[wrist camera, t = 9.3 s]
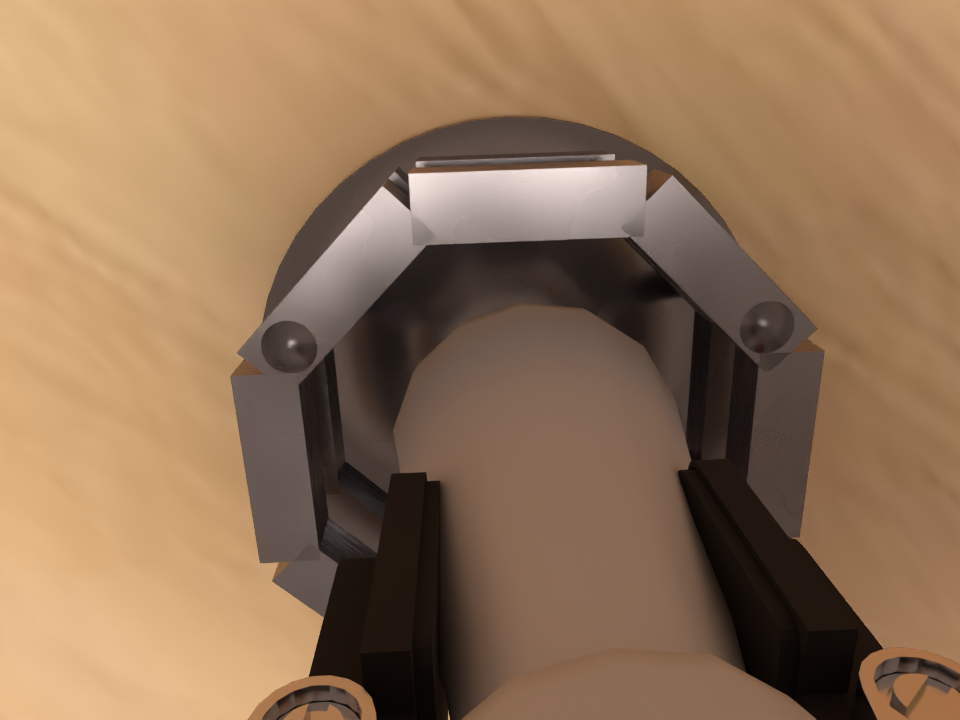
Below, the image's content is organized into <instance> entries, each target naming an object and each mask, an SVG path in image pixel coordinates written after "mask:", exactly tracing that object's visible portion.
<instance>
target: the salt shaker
mask: <svg viewBox="0 0 960 720" xmlns="http://www.w3.org/2000/svg"><path fill="white" fill-rule="evenodd" d="M393 433H394V439H395V444H396V450H397V456H398V462H399V467H400V473H415V472H426V474H427V481H440V670H441V675H442V680H443V685H444V690H445V695H446V700H447V705H448V710H449V715H450V720H816V718H814V717H813V716H812V715H811V714H810V713H808V712H807V711H806V710H805V709H804V708H802V707H801V706H800V705H799V704H798V703H796V702H795V701H794V700H793V699H792V698H790V697H789V696H787V695H786V694H784V693H782V692H780V691H778V690H776V689H775V688H773V687H771V686H769V685H767V684H765V683H764V682H762V681H760V680H758V679H756V678H755V677H753V676H751V675H749V674H747V673H746V669H745V665H744V661H743V657H742V653H741V650H740V646H739V642H738V638H737V634H736V630H735V627H734V623H733V619H732V616H731V613H730V611H729V608H728V606H727V603H726V601H725V598H724V596H723V593H722V591H721V588H720V586H719V583H718V581H717V578H716V576H715V573H714V571H713V568H712V566H711V563H710V561H709V558H708V556H707V553H706V551H705V548H704V546H703V543H702V541H701V538H700V535H699V533H698V530H697V528H696V525H695V523H694V520H693V517H692V514H691V511H690V508H689V505H688V502H687V499H686V496H685V493H684V490H683V487H682V484H681V481H680V478H679V475H678V471H679V470H688V466H689V463H690V462H691V458H690V454H689V450H688V447H687V443H686V439H685V435H684V431H683V427H682V424H681V420H680V416H679V412H678V408H677V404H676V401H675V398H674V396H673V394H672V393H671V391H670V389H669V388H668V386H667V384H666V382H665V381H664V379H663V377H662V376H661V374H660V372H659V371H658V369H657V367H656V366H655V364H654V362H653V361H652V359H651V357H650V356H649V354H648V352H647V351H646V349H645V347H644V346H643V345H641V344H639V343H638V342H636V341H635V340H633V339H632V338H630V337H628V336H627V335H625V334H624V333H622V332H621V331H619V330H617V329H616V328H614V327H613V326H611V325H610V324H608V323H606V322H605V321H603V320H602V319H600V318H599V317H597V316H595V315H594V314H592V313H591V312H589V311H587V310H586V309H584V308H575V307H565V306H555V305H545V304H535V303H526V302H520V303H517V304H514V305H511V306H508V307H505V308H502V309H499V310H496V311H493V312H490V313H487V314H485V315H482V316H479V317H476V318H473V319H470V320H467V321H464V322H461V323H460V324H459V325H458V326H457V327H456V328H455V329H454V330H453V331H452V332H451V333H450V334H449V335H448V336H447V337H446V338H445V339H444V340H443V341H442V342H441V343H440V344H439V345H438V346H437V347H435V348H434V349H433V350H432V351H431V352H430V353H429V354H428V355H427V356H426V357H425V358H424V359H423V360H422V361H421V362H420V363H419V364H418V365H417V367H416V368H415V370H414V372H413V374H412V377H411V380H410V383H409V386H408V388H407V391H406V394H405V397H404V400H403V403H402V406H401V409H400V411H399V414H398V417H397V420H396V423H395V426H394V429H393Z"/></svg>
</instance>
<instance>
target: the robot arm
mask: <svg viewBox="0 0 960 720" xmlns="http://www.w3.org/2000/svg"><path fill="white" fill-rule="evenodd" d="M678 475H679V478H680V481H681V484H682V487H683V490H684V493H685V496H686V499H687V502H688V505H689V508H690V511H691V514H692V517H693V520H694V523H695V525H696V528H697V530H698V533H699V535H700V538H701V541H702V543H703V546H704V548H705V551H706V553H707V556H708V558H709V561H710V563H711V566H712V568H713V571H714V573H715V576H716V578H717V581H718V583H719V586H720V588H721V591H722V593H723V596H724V598H725V601H726V603H727V606H728V608H729V611H730V613H731V616H732V619H733V623H734V627H735V630H736V634H737V638H738V642H739V646H740V650H741V653H742V657H743V661H744V665H745V669H746V673H747V674H749V675H751V676H753V677H755V678H756V679H758V680H760V681H762V682H764V683H765V684H767V685H769V686H771V687H773V688H775V689H776V690H778V691H780V692H782V693H784V694H786V695H787V696H789V697H790V698H792V699H793V700H794V701H795V702H796V703H798V704H799V705H800V706H801V707H802V708H804V709H805V710H806V711H807V712H808V713H810V714H811V715H812V716H813V717H814V718H816V720H960V664H958V663H956V662H954V661H952V660H950V659H948V658H945V657H942V656H939V655H936V654H933V653H930V652H927V651H923V650H917V649H910V648H885V649H883V648H882V646H881V645H880V644H879V642H878V641H877V640H876V639H875V637H874V636H873V635H872V634H871V632H870V631H869V630H868V628H867V627H866V626H865V625H864V623H863V622H862V621H861V619H860V618H859V617H858V616H857V614H856V613H855V612H854V611H853V609H852V608H851V607H850V605H849V604H848V603H847V602H846V600H845V599H844V598H843V596H842V595H841V594H840V593H839V591H838V590H837V589H836V588H835V586H834V585H833V584H832V582H831V581H830V580H829V579H828V577H827V576H826V575H825V573H824V572H823V571H822V570H821V568H820V567H819V566H818V565H817V563H816V562H815V561H814V559H813V558H812V557H811V556H810V554H809V553H808V552H807V550H806V549H805V548H804V547H803V545H802V544H801V543H799V542H798V541H797V540H796V539H792V538H789V537H788V536H787V534H786V533H785V532H784V530H783V529H782V528H781V526H780V525H779V524H778V523H777V521H776V520H775V519H774V517H773V516H772V515H771V513H770V512H769V511H768V509H767V508H766V507H765V506H764V504H763V503H762V502H761V500H760V499H759V498H758V496H757V495H756V494H755V493H754V491H753V490H752V489H751V487H750V486H749V485H748V483H747V482H746V481H745V479H744V478H743V477H742V476H741V474H740V473H739V472H738V470H737V469H736V468H735V466H734V465H733V464H732V462H731V461H730V460H728V459H712V460H692V461H691V462H690V463H689V466H688V470H679V471H678ZM248 720H448V705H447V700H446V695H445V690H444V685H443V680H442V675H441V670H440V481H427V474H426V472H415V473H392V474H391V478H390V483H389V489H388V495H387V500H386V506H385V512H384V517H383V523H382V529H381V535H380V540H379V546H378V552H377V557H368V558H346V559H341V560H339V563H338V566H337V569H336V573H335V577H334V581H333V585H332V589H331V593H330V596H329V600H328V604H327V608H326V612H325V616H324V620H323V624H322V628H321V631H320V635H319V639H318V643H317V647H316V651H315V655H314V659H313V663H312V666H311V670H310V674H309V677H307V678H304V679H300V680H297V681H293V682H291V683H289V684H287V685H285V686H283V687H281V688H279V689H277V690H275V691H274V692H273V693H271V694H270V695H269V696H268V697H267V698H265V699H264V700H263V701H262V702H261V703H259V705H258V706H257V707H256V709H255V710H254V711H253V713H252V714H251V716H250V717H249V718H248Z"/></svg>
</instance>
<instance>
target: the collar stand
mask: <svg viewBox="0 0 960 720" xmlns="http://www.w3.org/2000/svg"><path fill="white" fill-rule="evenodd" d="M520 302H526V303H535V304H545V305H555V306H565V307H575V308H584V309H586V310H587V311H589V312H591V313H592V314H594V315H595V316H597V317H599V318H600V319H602V320H603V321H605V322H606V323H608V324H610V325H611V326H613V327H614V328H616V329H617V330H619V331H621V332H622V333H624V334H625V335H627V336H628V337H630V338H632V339H633V340H635V341H636V342H638V343H639V344H641V345H643V346H644V347H645V349H646V351H647V352H648V354H649V356H650V357H651V359H652V361H653V362H654V364H655V366H656V367H657V369H658V371H659V372H660V374H661V376H662V377H663V379H664V381H665V382H666V384H667V386H668V388H669V389H670V391H671V393H672V394H673V396H674V398H675V401H676V404H677V408H678V412H679V416H680V420H681V424H682V427H683V431H684V435H685V439H686V443H687V447H688V450H689V454H690V458H691V461H692V460H712V459H728V460H730V461H731V462H732V464H733V465H734V466H735V468H736V469H737V470H738V472H739V473H740V474H741V476H742V477H743V478H744V479H745V481H746V482H747V483H748V485H749V486H750V487H751V489H752V490H753V491H754V493H755V494H756V495H757V496H758V498H759V499H760V500H761V502H762V503H763V504H764V506H765V507H766V508H767V509H768V511H769V512H770V513H771V515H772V516H773V517H774V519H775V520H776V521H777V523H778V524H779V525H780V526H781V528H782V529H783V530H784V532H785V533H786V534H787V536H788V537H789V538H791V537H800V530H801V522H802V515H803V507H804V500H805V492H806V485H807V477H808V470H809V463H810V455H811V448H812V440H813V433H814V425H815V418H816V410H817V403H818V395H819V388H820V381H821V373H822V366H823V358H824V350H822V349H821V348H819V347H818V346H816V345H815V344H813V343H812V342H810V341H809V340H807V338H808V337H809V336H810V335H811V334H812V333H813V332H814V331H816V330H817V329H818V328H817V327H816V326H815V325H814V324H813V323H812V322H811V321H810V320H809V319H808V318H807V317H806V316H805V315H804V314H803V313H802V311H801V310H800V309H799V308H798V307H797V306H796V305H795V304H794V303H793V302H792V301H791V300H790V299H789V298H788V297H787V296H786V295H785V294H784V292H783V291H782V290H781V289H780V288H779V287H778V286H777V285H776V284H775V283H774V282H773V281H772V280H771V279H770V278H769V277H768V276H767V274H766V273H765V272H764V271H763V270H762V269H761V268H760V267H759V266H758V265H757V264H756V263H755V262H754V261H753V260H752V259H751V258H750V257H749V255H748V254H747V253H746V252H745V251H744V250H743V249H742V248H741V247H740V246H739V245H738V243H737V241H736V240H735V238H734V236H733V235H732V233H731V231H730V230H729V228H728V226H727V225H726V223H725V221H724V220H723V218H722V217H721V216H720V215H719V214H718V212H717V211H716V210H715V209H714V207H713V206H712V205H711V204H710V202H709V201H708V200H707V199H706V198H705V196H704V195H703V194H702V193H701V192H700V191H699V190H698V189H697V188H696V187H694V186H693V185H692V184H691V183H690V182H689V181H688V180H687V179H686V178H685V177H684V176H682V175H681V174H680V173H679V172H678V171H677V170H675V169H674V168H672V167H671V166H670V165H668V164H667V163H665V162H664V161H662V160H661V159H659V158H658V157H656V156H655V155H653V154H652V153H650V152H649V151H647V150H645V149H643V148H641V147H639V146H637V145H635V144H633V143H631V142H629V141H627V140H625V139H623V138H621V137H618V136H616V135H613V134H610V133H607V132H604V131H601V130H598V129H595V128H592V127H589V126H585V125H582V124H577V123H571V122H566V121H560V120H554V119H548V118H541V117H512V116H506V117H496V118H486V119H477V120H470V121H466V122H462V123H457V124H453V125H449V126H445V127H441V128H437V129H434V130H432V131H429V132H427V133H424V134H422V135H419V136H417V137H414V138H412V139H409V140H407V141H404V142H402V143H400V144H399V145H397V146H395V147H393V148H392V149H390V150H388V151H386V152H385V153H383V154H381V155H379V156H378V157H376V158H374V159H372V160H371V161H370V162H368V163H367V164H366V165H364V166H363V167H362V168H360V169H359V170H358V171H357V172H355V173H354V174H353V175H351V176H350V177H349V178H347V179H346V180H345V181H344V182H342V183H341V184H340V185H339V186H338V187H337V188H336V189H335V190H334V191H333V192H332V193H331V194H330V195H329V196H328V197H327V198H326V199H325V200H324V201H323V202H322V203H321V204H320V205H319V206H318V207H317V208H316V210H315V211H314V212H313V214H312V215H311V216H310V218H309V219H308V220H307V222H306V223H305V225H304V226H303V227H302V229H301V230H300V231H299V233H298V234H297V235H296V237H295V239H294V240H293V242H292V244H291V246H290V248H289V250H288V251H287V253H286V255H285V257H284V259H283V261H282V263H281V264H280V266H279V269H278V272H277V274H276V277H275V280H274V282H273V285H272V288H271V291H270V293H269V296H268V299H267V304H266V309H265V313H264V318H263V323H262V324H261V326H260V327H259V328H258V329H257V330H256V331H255V332H254V334H253V335H252V336H251V337H250V338H249V339H248V341H247V342H246V343H245V344H244V345H243V346H242V348H241V349H240V350H239V351H238V352H237V353H238V354H239V355H240V356H242V357H243V358H244V360H243V361H242V362H241V364H240V365H239V366H238V367H237V369H236V370H235V371H234V372H233V374H232V375H231V376H230V377H231V383H232V389H233V396H234V402H235V408H236V415H237V421H238V427H239V434H240V440H241V446H242V453H243V459H244V465H245V472H246V478H247V484H248V490H249V497H250V503H251V509H252V516H253V522H254V528H255V535H256V541H257V547H258V554H259V560H260V563H272V562H279V564H278V566H277V569H276V572H275V574H274V577H273V580H272V581H273V582H274V583H275V584H277V585H278V586H280V587H281V588H283V589H284V590H285V591H287V592H288V593H290V594H291V595H293V596H294V597H296V598H297V599H298V600H300V601H301V602H303V603H304V604H306V605H307V606H308V607H310V608H311V609H313V610H314V611H316V612H317V613H318V614H320V615H321V616H323V617H324V616H325V612H326V608H327V604H328V600H329V596H330V593H331V589H332V585H333V581H334V577H335V573H336V569H337V566H338V563H339V560H341V559H346V558H368V557H377V552H378V546H379V540H380V535H381V529H382V523H383V517H384V512H385V506H386V500H387V495H388V489H389V483H390V478H391V474H392V473H400V467H399V462H398V456H397V450H396V444H395V439H394V433H393V429H394V426H395V423H396V420H397V417H398V414H399V411H400V409H401V406H402V403H403V400H404V397H405V394H406V391H407V388H408V386H409V383H410V380H411V377H412V374H413V372H414V370H415V368H416V367H417V365H418V364H419V363H420V362H421V361H422V360H423V359H424V358H425V357H426V356H427V355H428V354H429V353H430V352H431V351H432V350H433V349H434V348H435V347H437V346H438V345H439V344H440V343H441V342H442V341H443V340H444V339H445V338H446V337H447V336H448V335H449V334H450V333H451V332H452V331H453V330H454V329H455V328H456V327H457V326H458V325H459V324H460V323H461V322H464V321H467V320H470V319H473V318H476V317H479V316H482V315H485V314H487V313H490V312H493V311H496V310H499V309H502V308H505V307H508V306H511V305H514V304H517V303H520Z"/></svg>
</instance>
